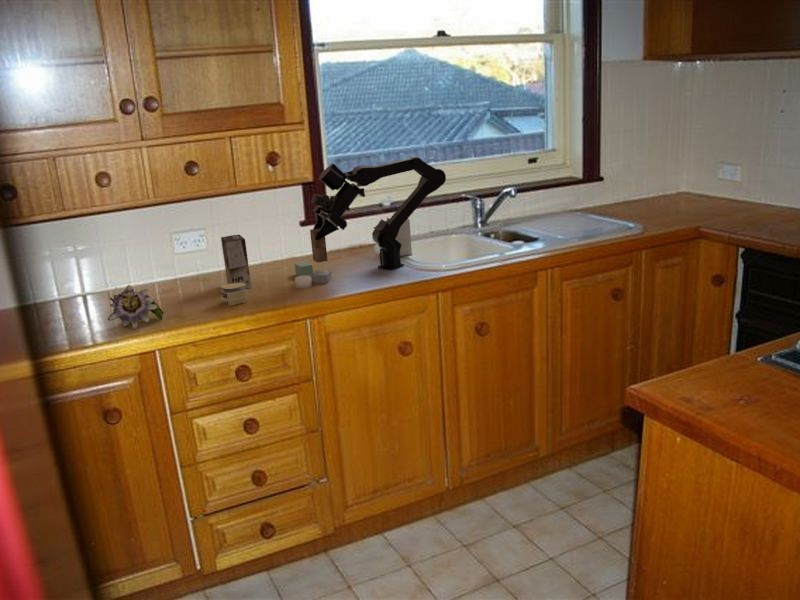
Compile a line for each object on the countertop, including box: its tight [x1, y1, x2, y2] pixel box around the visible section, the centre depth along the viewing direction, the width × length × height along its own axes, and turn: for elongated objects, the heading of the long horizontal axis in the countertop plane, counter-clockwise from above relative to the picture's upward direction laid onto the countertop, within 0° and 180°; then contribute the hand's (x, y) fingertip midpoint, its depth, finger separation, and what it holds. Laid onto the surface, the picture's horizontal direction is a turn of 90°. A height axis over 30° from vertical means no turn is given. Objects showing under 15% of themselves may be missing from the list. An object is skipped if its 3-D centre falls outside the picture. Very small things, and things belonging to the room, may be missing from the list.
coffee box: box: [220, 234, 252, 289], centre depth 237 cm, size 9×6×16 cm
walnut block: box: [309, 228, 328, 263], centre depth 239 cm, size 4×4×10 cm
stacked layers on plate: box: [219, 283, 248, 306], centre depth 222 cm, size 10×9×6 cm
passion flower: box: [107, 284, 165, 330], centre depth 208 cm, size 13×12×14 cm
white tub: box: [294, 275, 313, 290], centre depth 234 cm, size 5×5×3 cm
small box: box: [386, 216, 413, 257], centre depth 266 cm, size 8×6×13 cm
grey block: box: [311, 270, 333, 285], centre depth 238 cm, size 5×5×3 cm
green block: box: [294, 261, 314, 277], centre depth 247 cm, size 6×4×4 cm, turn 28°
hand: (313, 238), depth 238 cm, fingers closed on walnut block, 4 cm apart
